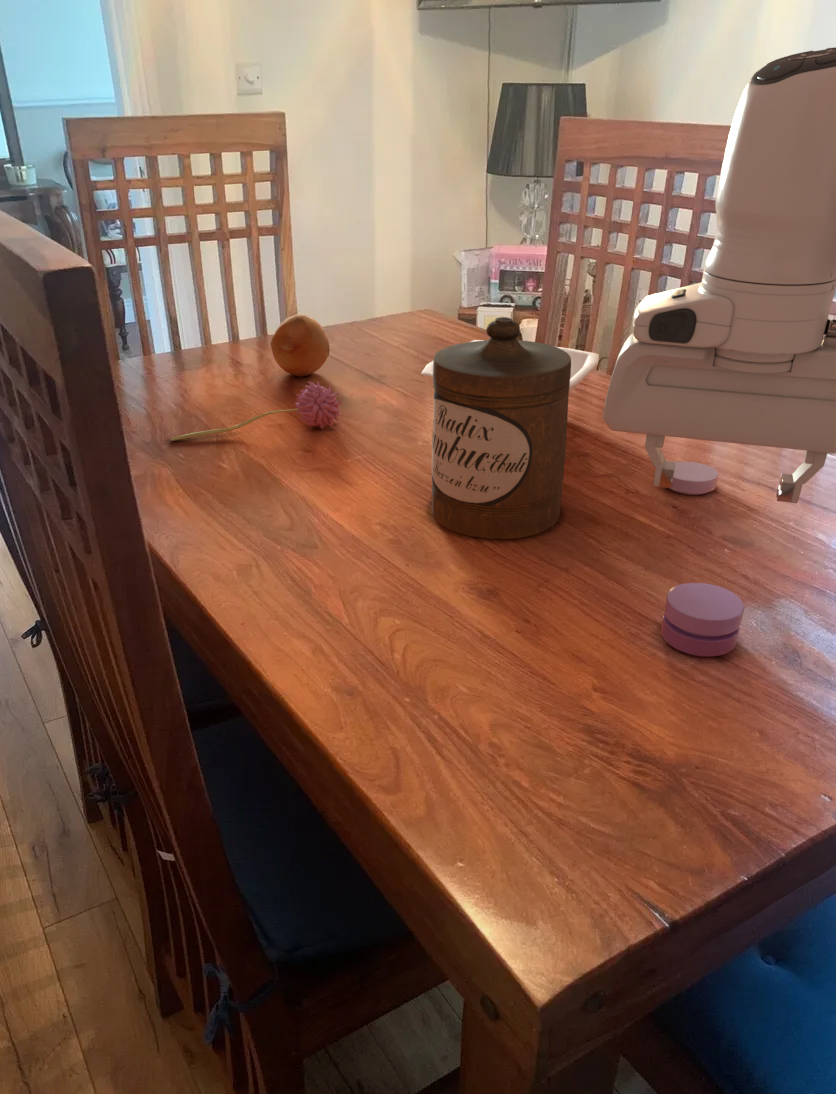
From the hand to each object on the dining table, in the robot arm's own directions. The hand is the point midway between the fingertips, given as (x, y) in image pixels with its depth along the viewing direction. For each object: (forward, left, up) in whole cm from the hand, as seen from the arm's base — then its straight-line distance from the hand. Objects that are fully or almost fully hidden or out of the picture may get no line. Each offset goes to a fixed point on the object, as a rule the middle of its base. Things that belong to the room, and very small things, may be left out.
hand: (723, 492), depth 69 cm
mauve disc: (0, 0, -15) cm, 15 cm away
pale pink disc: (+2, -35, -15) cm, 38 cm away
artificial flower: (+61, -37, -15) cm, 73 cm away
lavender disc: (0, 0, -12) cm, 12 cm away
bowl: (+28, -53, -15) cm, 62 cm away
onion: (+67, -66, -15) cm, 95 cm away
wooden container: (+23, -21, -15) cm, 34 cm away
